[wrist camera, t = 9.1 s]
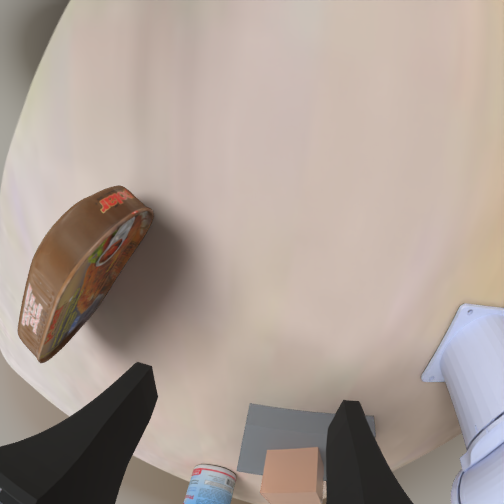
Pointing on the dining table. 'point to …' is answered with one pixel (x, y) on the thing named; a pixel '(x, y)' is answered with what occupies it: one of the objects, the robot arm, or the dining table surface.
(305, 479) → the terracotta cube
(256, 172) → the dining table surface
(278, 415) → the gray block
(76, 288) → the tin
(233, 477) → the pill bottle
